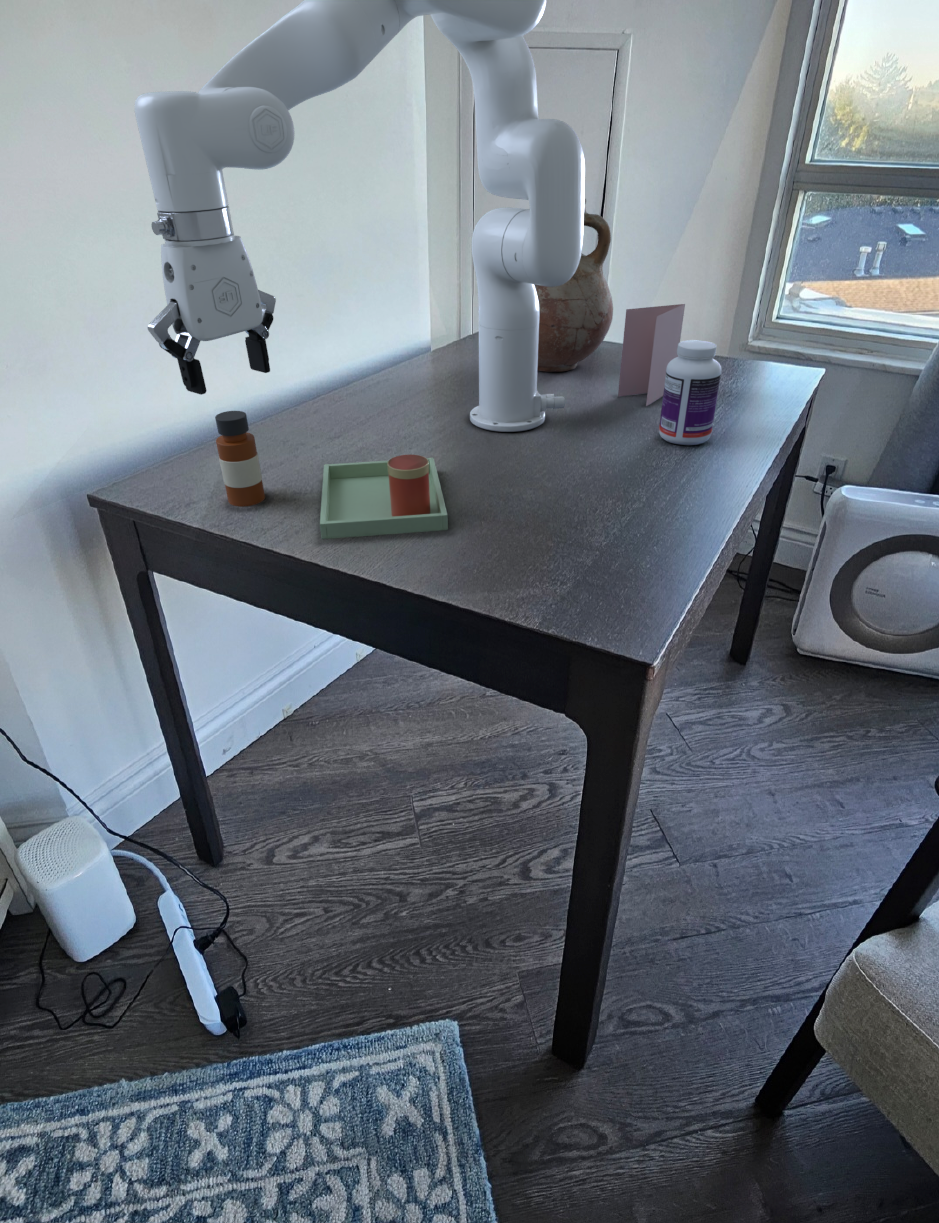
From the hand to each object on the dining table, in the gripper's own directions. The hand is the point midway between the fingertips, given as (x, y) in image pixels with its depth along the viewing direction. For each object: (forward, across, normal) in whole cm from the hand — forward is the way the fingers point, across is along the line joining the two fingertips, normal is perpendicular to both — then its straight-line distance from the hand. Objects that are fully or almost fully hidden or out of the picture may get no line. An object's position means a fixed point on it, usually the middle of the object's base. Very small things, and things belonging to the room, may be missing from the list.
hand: (229, 381), depth 93 cm
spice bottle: (+16, -1, 0) cm, 16 cm away
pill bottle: (+18, +55, -37) cm, 69 cm away
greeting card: (+18, +70, -25) cm, 77 cm away
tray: (+16, +9, -15) cm, 24 cm away
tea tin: (+16, +8, -21) cm, 27 cm away
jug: (+18, +77, +1) cm, 79 cm away
